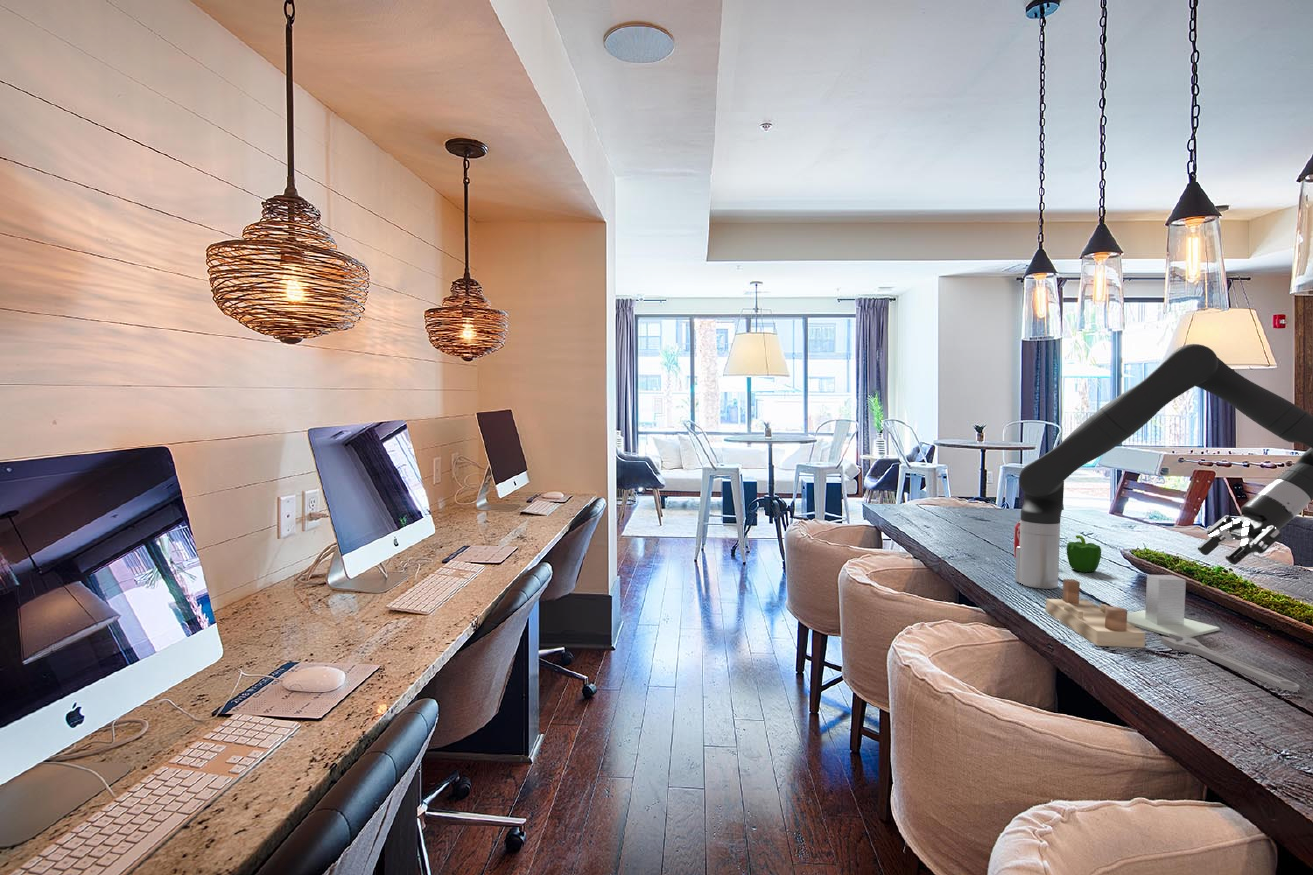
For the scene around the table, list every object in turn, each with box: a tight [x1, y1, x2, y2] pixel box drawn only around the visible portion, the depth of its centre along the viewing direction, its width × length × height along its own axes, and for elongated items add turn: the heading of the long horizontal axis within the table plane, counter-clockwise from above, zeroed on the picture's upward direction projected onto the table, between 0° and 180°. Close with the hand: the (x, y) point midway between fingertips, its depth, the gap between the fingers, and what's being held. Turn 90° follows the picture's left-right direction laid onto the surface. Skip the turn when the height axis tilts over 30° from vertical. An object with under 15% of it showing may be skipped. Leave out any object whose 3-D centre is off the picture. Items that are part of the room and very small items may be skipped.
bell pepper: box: [1066, 534, 1102, 573], centre depth 194 cm, size 8×8×10 cm
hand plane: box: [1045, 578, 1146, 648], centre depth 145 cm, size 22×9×8 cm, turn 174°
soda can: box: [1013, 519, 1021, 559], centre depth 206 cm, size 7×7×12 cm
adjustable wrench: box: [1160, 633, 1301, 691], centre depth 125 cm, size 25×6×2 cm, turn 3°
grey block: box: [1145, 574, 1187, 625], centre depth 147 cm, size 4×6×10 cm
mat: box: [1127, 609, 1221, 638], centre depth 147 cm, size 14×14×1 cm
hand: (1215, 556), depth 145 cm, fingers open, 8 cm apart
